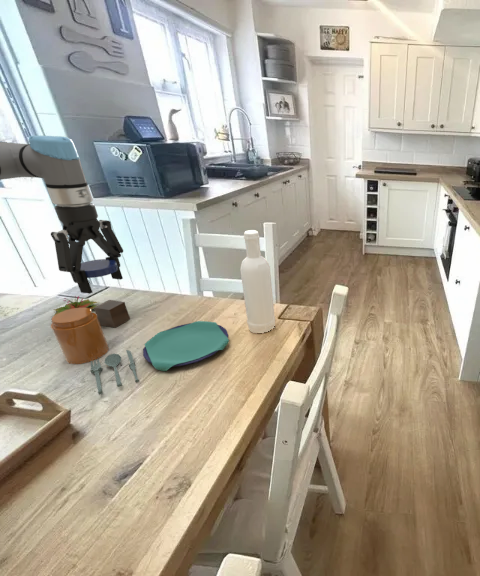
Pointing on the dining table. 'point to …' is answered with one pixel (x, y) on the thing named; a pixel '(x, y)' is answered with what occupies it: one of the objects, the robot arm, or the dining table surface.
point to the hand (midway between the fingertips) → (102, 285)
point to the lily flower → (76, 305)
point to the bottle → (257, 286)
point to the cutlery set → (173, 348)
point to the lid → (99, 267)
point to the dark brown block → (112, 313)
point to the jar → (79, 335)
